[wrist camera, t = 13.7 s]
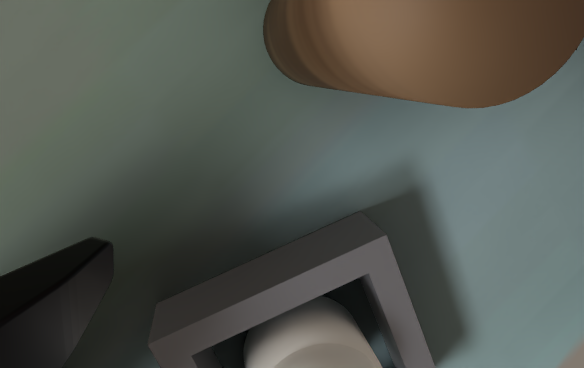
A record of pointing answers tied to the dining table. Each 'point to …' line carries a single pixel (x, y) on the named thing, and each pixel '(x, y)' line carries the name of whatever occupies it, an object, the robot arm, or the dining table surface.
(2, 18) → the dining table surface
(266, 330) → the dome
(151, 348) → the box
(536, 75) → the walnut pawn
